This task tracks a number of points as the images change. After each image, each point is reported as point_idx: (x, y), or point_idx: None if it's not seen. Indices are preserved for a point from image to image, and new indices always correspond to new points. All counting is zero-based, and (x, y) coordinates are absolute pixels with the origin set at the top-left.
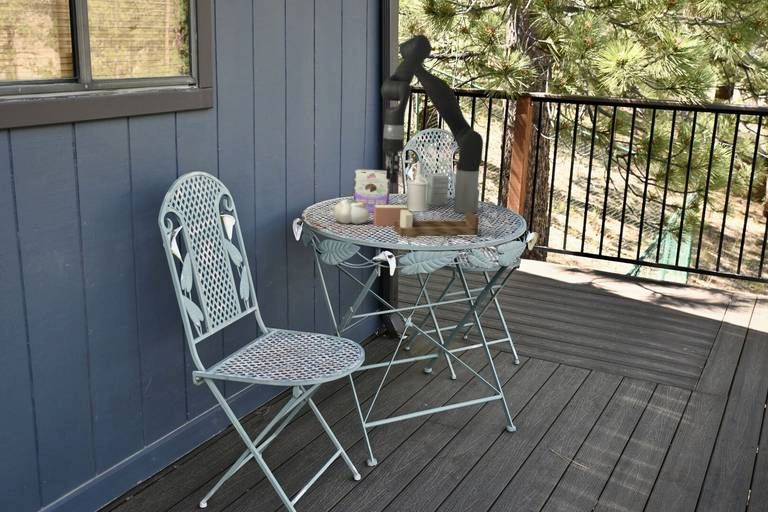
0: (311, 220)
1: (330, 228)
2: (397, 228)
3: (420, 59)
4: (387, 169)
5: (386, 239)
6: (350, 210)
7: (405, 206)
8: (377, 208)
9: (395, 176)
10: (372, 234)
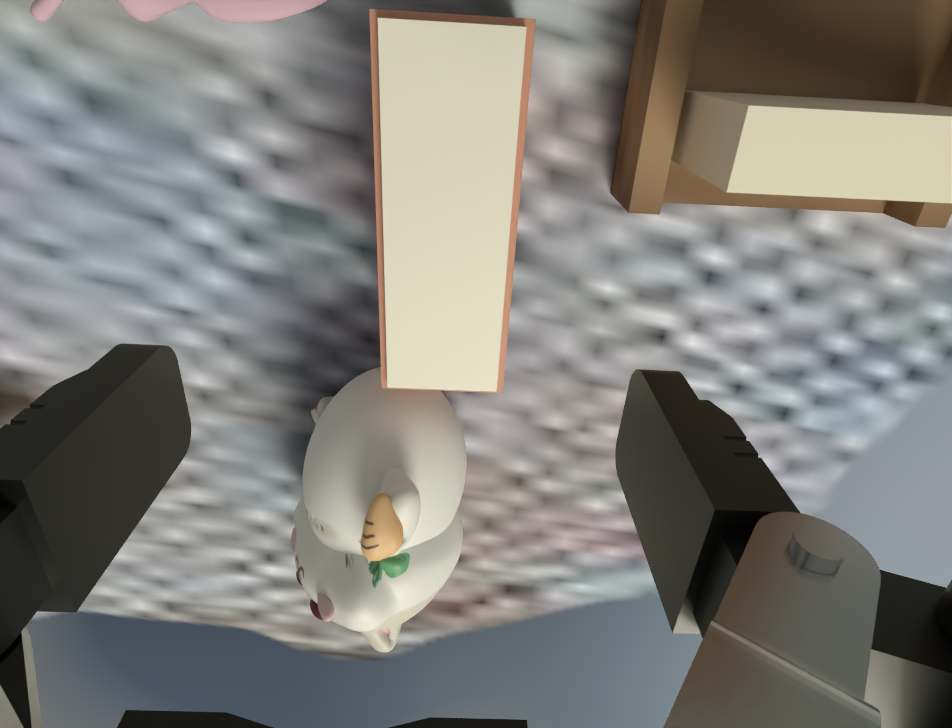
0: (331, 622)
1: (533, 569)
2: (719, 194)
3: None
4: (70, 600)
5: (904, 328)
6: (443, 540)
7: (467, 41)
8: (503, 379)
9: (773, 498)
10: (737, 386)
